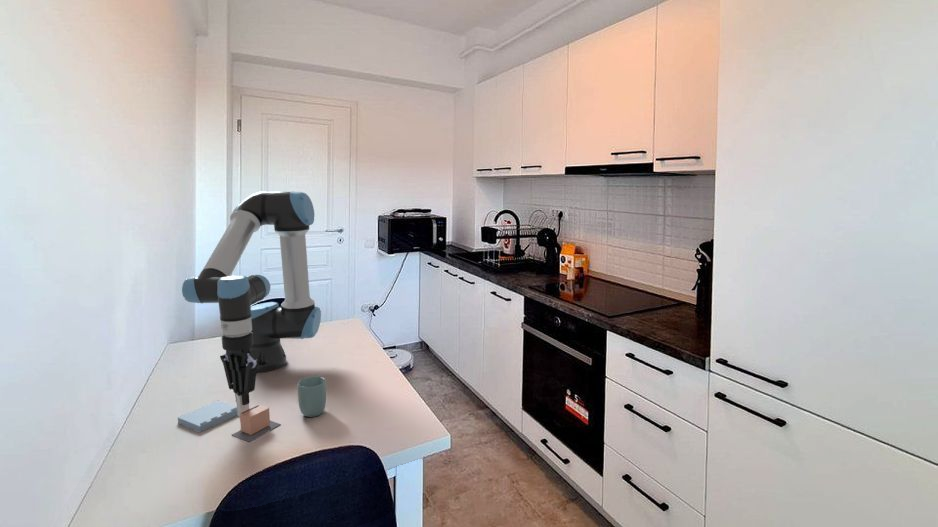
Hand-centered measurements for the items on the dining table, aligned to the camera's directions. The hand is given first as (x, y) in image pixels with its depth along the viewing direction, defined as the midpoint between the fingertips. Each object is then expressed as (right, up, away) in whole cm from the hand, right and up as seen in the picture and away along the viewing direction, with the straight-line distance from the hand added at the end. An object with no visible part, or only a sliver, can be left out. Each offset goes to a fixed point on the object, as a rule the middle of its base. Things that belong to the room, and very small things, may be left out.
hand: (243, 414), depth 125 cm
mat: (+5, -3, -2) cm, 6 cm away
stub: (+4, -3, -2) cm, 6 cm away
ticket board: (-12, -2, +4) cm, 12 cm away
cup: (+17, -2, +7) cm, 19 cm away
